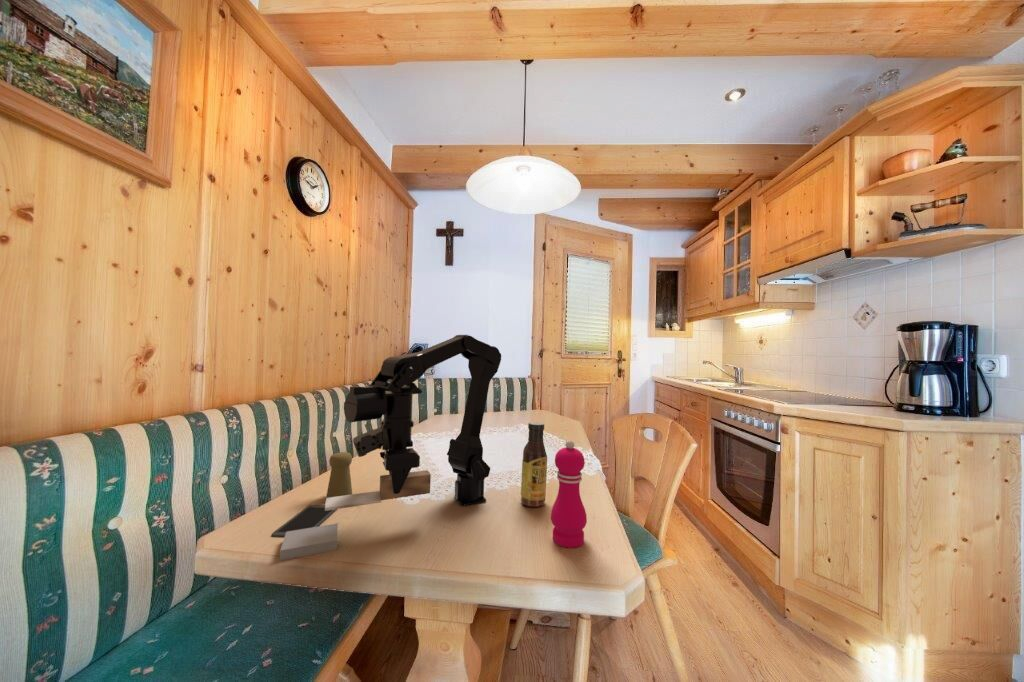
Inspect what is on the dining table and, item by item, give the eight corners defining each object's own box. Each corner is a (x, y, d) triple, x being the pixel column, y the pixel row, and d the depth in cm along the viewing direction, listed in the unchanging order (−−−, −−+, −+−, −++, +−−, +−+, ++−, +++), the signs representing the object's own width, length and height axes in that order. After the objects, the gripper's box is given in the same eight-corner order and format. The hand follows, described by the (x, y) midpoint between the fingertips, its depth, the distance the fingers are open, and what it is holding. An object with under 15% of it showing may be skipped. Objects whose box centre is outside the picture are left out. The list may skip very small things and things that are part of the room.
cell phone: (340, 508, 84) (340, 505, 84) (306, 539, 70) (306, 535, 70) (309, 507, 84) (309, 504, 84) (269, 538, 70) (269, 534, 70)
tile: (337, 523, 72) (286, 531, 68) (337, 540, 66) (280, 550, 62) (337, 533, 72) (285, 542, 68) (336, 551, 66) (279, 562, 62)
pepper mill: (543, 534, 73) (545, 437, 74) (573, 528, 76) (575, 435, 77) (562, 552, 66) (564, 446, 67) (593, 545, 69) (595, 443, 70)
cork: (341, 503, 86) (343, 457, 86) (320, 500, 87) (322, 455, 87) (357, 493, 92) (359, 450, 92) (337, 491, 93) (338, 449, 93)
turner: (426, 486, 79) (426, 468, 79) (431, 494, 75) (431, 476, 75) (326, 500, 71) (326, 480, 71) (324, 510, 66) (325, 489, 66)
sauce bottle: (532, 510, 84) (534, 427, 84) (515, 502, 89) (517, 422, 89) (551, 503, 88) (553, 423, 89) (533, 495, 93) (535, 419, 93)
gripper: (355, 410, 80) (352, 480, 79) (358, 427, 63) (355, 516, 62) (405, 408, 84) (403, 474, 84) (421, 423, 68) (418, 506, 67)
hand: (395, 490), depth 74 cm, fingers closed on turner, 3 cm apart
